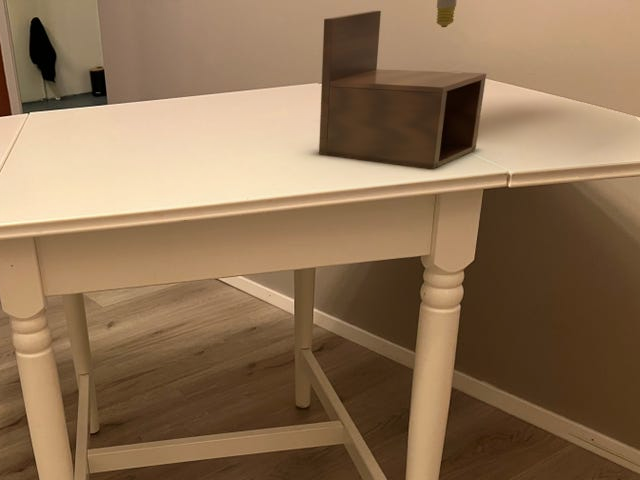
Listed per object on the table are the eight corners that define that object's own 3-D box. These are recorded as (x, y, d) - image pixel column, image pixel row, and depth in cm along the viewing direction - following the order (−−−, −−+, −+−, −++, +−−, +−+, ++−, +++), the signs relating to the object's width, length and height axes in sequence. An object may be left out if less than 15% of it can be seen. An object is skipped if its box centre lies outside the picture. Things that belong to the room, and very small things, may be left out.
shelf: (475, 149, 89) (496, 8, 81) (433, 169, 82) (451, 17, 74) (364, 137, 99) (372, 10, 91) (318, 154, 92) (323, 18, 85)
